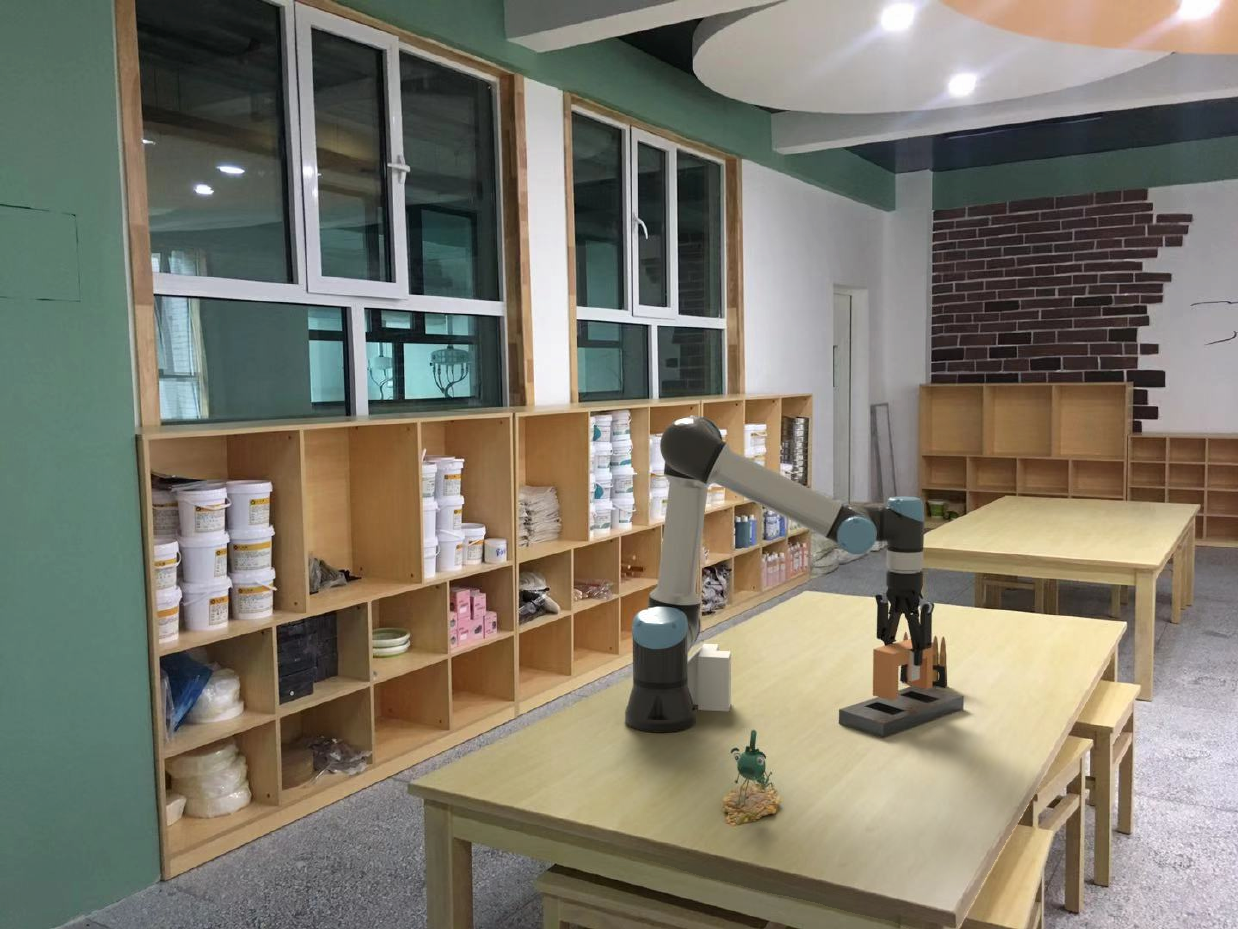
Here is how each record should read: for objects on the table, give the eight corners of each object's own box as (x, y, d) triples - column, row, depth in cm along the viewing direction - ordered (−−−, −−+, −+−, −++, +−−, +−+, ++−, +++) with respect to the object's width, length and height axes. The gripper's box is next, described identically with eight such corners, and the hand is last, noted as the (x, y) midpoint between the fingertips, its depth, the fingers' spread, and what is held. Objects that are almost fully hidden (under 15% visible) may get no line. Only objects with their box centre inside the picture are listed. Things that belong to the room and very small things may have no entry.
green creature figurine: (802, 795, 185) (800, 717, 182) (755, 844, 170) (752, 760, 167) (753, 782, 190) (751, 706, 187) (704, 829, 176) (700, 747, 173)
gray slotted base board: (883, 738, 212) (883, 723, 211) (838, 723, 221) (839, 709, 220) (963, 709, 229) (963, 695, 229) (919, 696, 238) (919, 683, 238)
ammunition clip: (899, 681, 250) (900, 632, 248) (902, 679, 251) (902, 630, 250) (945, 688, 244) (946, 638, 243) (947, 686, 246) (948, 636, 245)
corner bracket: (728, 711, 229) (728, 657, 228) (677, 708, 231) (677, 655, 230) (733, 696, 239) (733, 645, 238) (684, 693, 242) (683, 642, 241)
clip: (892, 700, 218) (892, 654, 217) (872, 695, 222) (873, 649, 221) (932, 687, 227) (933, 642, 226) (912, 682, 231) (913, 638, 230)
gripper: (952, 573, 217) (949, 683, 219) (881, 561, 231) (879, 664, 233) (930, 578, 212) (928, 690, 215) (859, 565, 227) (858, 670, 229)
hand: (902, 676), depth 224 cm, fingers closed on clip, 5 cm apart
